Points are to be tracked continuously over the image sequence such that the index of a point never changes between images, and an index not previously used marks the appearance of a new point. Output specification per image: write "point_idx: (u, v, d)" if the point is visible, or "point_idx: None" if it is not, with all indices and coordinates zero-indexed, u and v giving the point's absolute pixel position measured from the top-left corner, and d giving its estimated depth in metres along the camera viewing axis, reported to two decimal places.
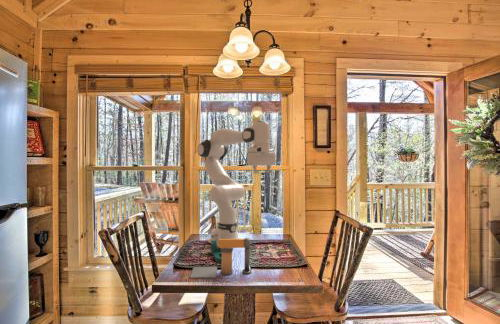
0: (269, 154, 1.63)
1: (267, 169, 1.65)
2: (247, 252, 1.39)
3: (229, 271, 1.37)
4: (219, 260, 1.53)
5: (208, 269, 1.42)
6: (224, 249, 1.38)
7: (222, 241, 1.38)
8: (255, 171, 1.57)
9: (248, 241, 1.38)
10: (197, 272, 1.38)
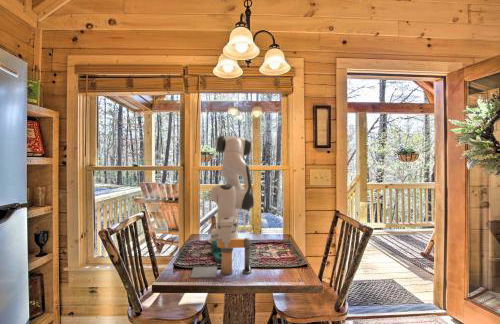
0: None
1: None
2: (247, 252, 1.39)
3: (229, 271, 1.37)
4: (219, 260, 1.53)
5: (208, 269, 1.42)
6: (224, 249, 1.38)
7: None
8: (226, 244, 1.36)
9: (248, 241, 1.38)
10: (197, 272, 1.38)
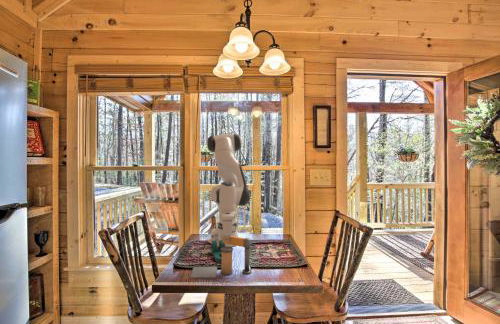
0: None
1: None
2: (247, 252, 1.39)
3: (229, 271, 1.37)
4: (219, 260, 1.53)
5: (208, 269, 1.42)
6: (224, 249, 1.38)
7: (225, 237, 1.45)
8: (228, 238, 1.42)
9: (246, 241, 1.38)
10: (197, 272, 1.38)
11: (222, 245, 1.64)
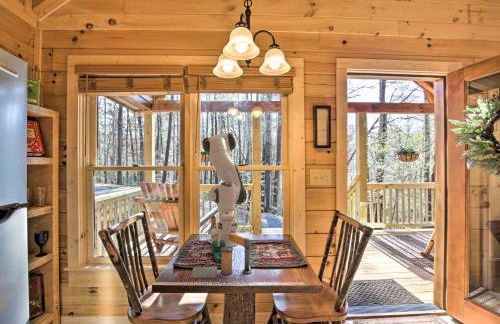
0: None
1: None
2: (247, 252, 1.39)
3: (229, 271, 1.37)
4: (219, 260, 1.53)
5: (208, 269, 1.42)
6: (224, 249, 1.38)
7: (231, 235, 1.48)
8: (227, 237, 1.48)
9: (245, 241, 1.38)
10: (197, 272, 1.38)
11: (222, 245, 1.64)
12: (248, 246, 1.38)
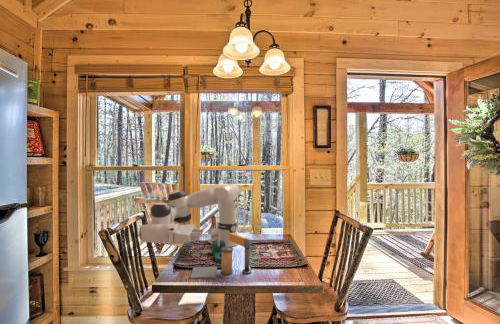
0: (181, 226, 1.42)
1: (198, 231, 1.40)
2: (247, 252, 1.39)
3: (229, 271, 1.37)
4: (219, 260, 1.53)
5: (208, 269, 1.42)
6: (224, 249, 1.38)
7: (231, 235, 1.48)
8: (198, 234, 1.35)
9: (245, 241, 1.38)
10: (197, 272, 1.38)
11: (223, 245, 1.64)
12: (248, 246, 1.38)
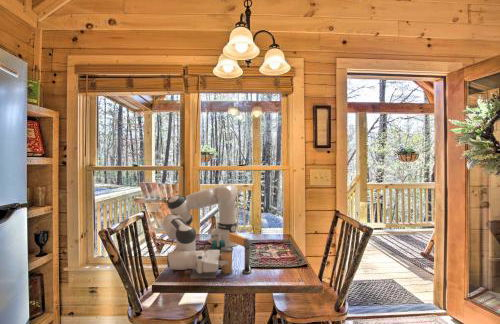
0: (207, 253, 1.43)
1: None
2: (247, 252, 1.39)
3: (229, 271, 1.37)
4: None
5: None
6: (224, 249, 1.38)
7: (231, 235, 1.48)
8: (225, 262, 1.35)
9: (245, 241, 1.38)
10: None
11: (222, 245, 1.64)
12: (248, 246, 1.38)
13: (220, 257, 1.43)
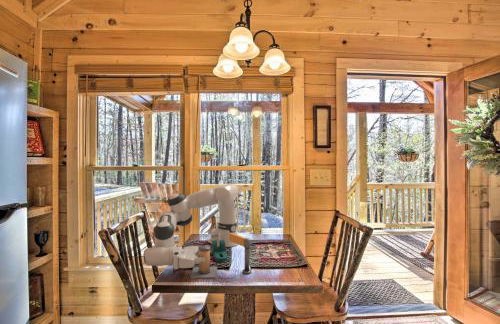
0: (185, 249, 1.42)
1: None
2: (247, 252, 1.39)
3: (206, 270, 1.37)
4: (219, 260, 1.53)
5: None
6: (201, 248, 1.37)
7: (231, 235, 1.48)
8: (202, 259, 1.33)
9: (245, 241, 1.38)
10: (197, 272, 1.38)
11: (222, 245, 1.64)
12: (248, 246, 1.38)
13: (198, 252, 1.43)
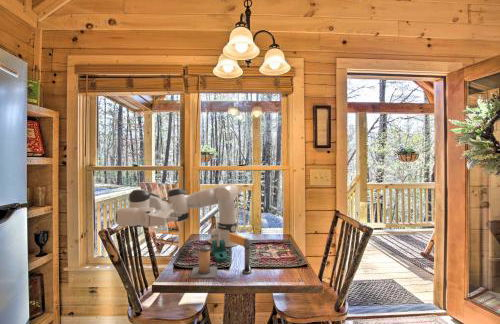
0: (159, 211, 1.41)
1: None
2: (247, 252, 1.39)
3: (206, 270, 1.37)
4: (219, 260, 1.53)
5: None
6: (202, 248, 1.37)
7: (231, 235, 1.48)
8: (174, 218, 1.32)
9: (245, 241, 1.38)
10: (197, 272, 1.38)
11: (222, 245, 1.65)
12: (248, 246, 1.38)
13: (173, 214, 1.42)
